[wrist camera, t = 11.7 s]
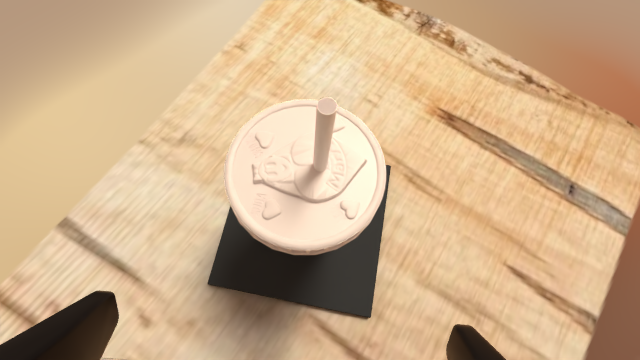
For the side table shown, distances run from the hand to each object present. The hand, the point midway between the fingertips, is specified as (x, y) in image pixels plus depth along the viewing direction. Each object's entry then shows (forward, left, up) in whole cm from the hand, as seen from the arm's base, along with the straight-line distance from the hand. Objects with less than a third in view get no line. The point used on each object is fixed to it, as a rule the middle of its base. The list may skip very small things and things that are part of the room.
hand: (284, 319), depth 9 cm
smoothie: (+5, +1, -12) cm, 13 cm away
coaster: (+5, +1, -13) cm, 14 cm away
